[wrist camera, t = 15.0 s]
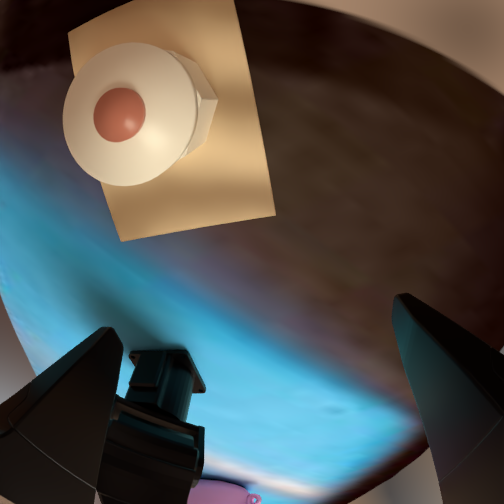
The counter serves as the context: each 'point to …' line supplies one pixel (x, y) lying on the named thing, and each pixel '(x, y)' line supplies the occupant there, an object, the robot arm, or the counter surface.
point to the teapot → (220, 493)
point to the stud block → (221, 129)
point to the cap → (136, 112)
